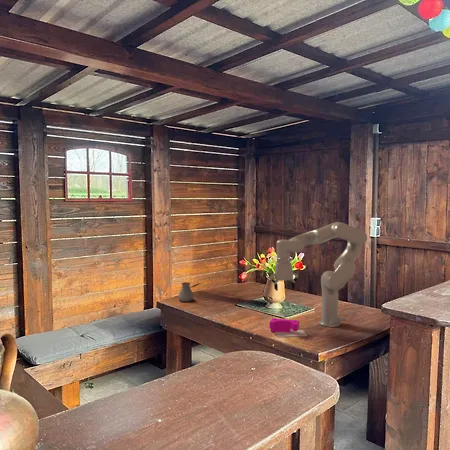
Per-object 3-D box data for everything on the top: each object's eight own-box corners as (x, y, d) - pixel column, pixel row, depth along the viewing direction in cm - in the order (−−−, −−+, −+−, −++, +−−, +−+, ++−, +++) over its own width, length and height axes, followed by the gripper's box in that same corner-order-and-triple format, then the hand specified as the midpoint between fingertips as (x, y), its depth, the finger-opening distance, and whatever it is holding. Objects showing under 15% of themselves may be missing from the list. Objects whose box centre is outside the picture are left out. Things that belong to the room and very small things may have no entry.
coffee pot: (174, 300, 293) (174, 280, 292) (187, 297, 301) (186, 278, 300) (194, 306, 278) (194, 284, 277) (206, 302, 286) (206, 282, 285)
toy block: (272, 328, 228) (269, 333, 221) (272, 318, 228) (269, 321, 220) (298, 331, 223) (296, 335, 216) (298, 320, 223) (297, 324, 216)
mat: (302, 330, 226) (302, 329, 226) (307, 336, 217) (307, 335, 217) (274, 331, 224) (274, 331, 224) (278, 337, 215) (278, 336, 215)
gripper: (295, 259, 239) (296, 287, 240) (267, 260, 237) (268, 289, 238) (299, 260, 231) (300, 290, 232) (270, 262, 229) (271, 292, 230)
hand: (284, 289), depth 235 cm, fingers open, 9 cm apart
